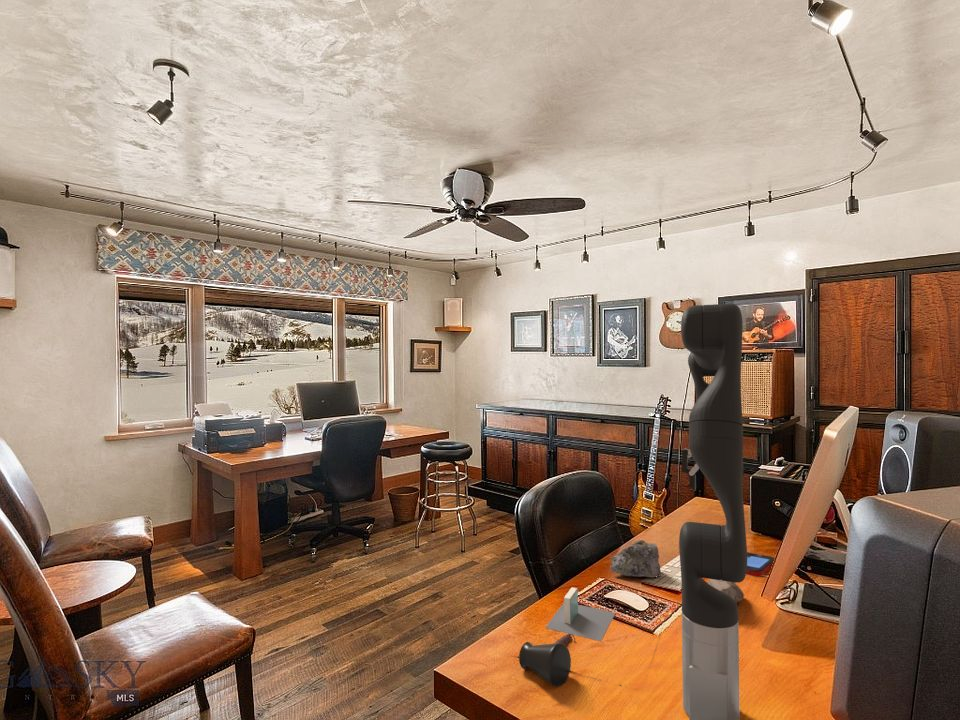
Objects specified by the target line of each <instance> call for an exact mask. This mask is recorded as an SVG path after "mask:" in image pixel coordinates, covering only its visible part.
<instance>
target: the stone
mask: <svg viewBox="0 0 960 720" xmlns="http://www.w3.org/2000/svg"><path fill="white" fill-rule="evenodd" d="M707 583H708V584H710V585H711V586H713V587H714V588H716V589H718V590H720V591H722V592H724V593H725V594H727V595H729V596H730V597H731V598H732V599H733V600H734V601H735V602H736V604H737V603H739V602H741V601H742V600H743V599H744V598H745V597H744V596H745V594H744V592H743V589H741V588H740V586H738V585H737V583H735V582H728V581H722V579H721V580H715V579H708V582H707Z"/></svg>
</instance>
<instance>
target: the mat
mask: <svg viewBox="0 0 960 720" xmlns="http://www.w3.org/2000/svg"><path fill="white" fill-rule="evenodd" d="M615 615H616V612H614V611H610V610H606V609H600V608H596V607H590V606H585V605H581V604H578V613H577V615H576V616H575V618H574V619H573V621H572V622H571V624H567V623H564V602H563V603H562V604H561V605H560V607H559V608H558V610H557V611H556V613H555V614H554V615H553V617H552V618H551V619H550V621H549V622H548V623H547V625H546V626H545V629H547V630H552V631H556V632H561V633H564V634H572V635H574V636H577V637H582V638H585V639H589V640H593V641H598V642H602V640H603V638H604V637H605V634H606V633H607V631H608V629H609V627H610V625H611V623H612V621H613V619H614V617H615ZM572 635H571V636H572Z"/></svg>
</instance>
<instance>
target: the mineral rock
mask: <svg viewBox="0 0 960 720" xmlns="http://www.w3.org/2000/svg"><path fill="white" fill-rule="evenodd" d="M659 559H660V554H659V548H658V546H657V544H656V543H653V542H651V543H650V542H649V543H647V542H646V541H645V540H643V539H638V540H637V541H635V542H633V543H632V544H631V545H630V546H627V547H625V548H624V549H622V550H621V551H619V552H618V553H617V554H616V555H613V556H612V557H610V562H611V564H610V566H609V568H610V571H611V572H612V573H615V574H618V575H620V576H621V575H622V576H625V577H637V578H638V577H640V578H641V577H644V578H654V577H656V576H659V575H660V576H661V572H662V570H661V565H660V563H659V561H660V560H659ZM656 578H657V577H656Z"/></svg>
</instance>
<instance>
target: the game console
mask: <svg viewBox="0 0 960 720" xmlns="http://www.w3.org/2000/svg"><path fill="white" fill-rule="evenodd" d="M774 559H775V557H774V556H770V555H764V554H759V553H754V552H753V553H752V552H748V551H747V572H746V575H750V576H755V577H762V576H763V575H764V574H765V573H767V572H768V571H769V570H770V569H772V568H771V566H772V564H773V561H774ZM775 560H776V559H775Z"/></svg>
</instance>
